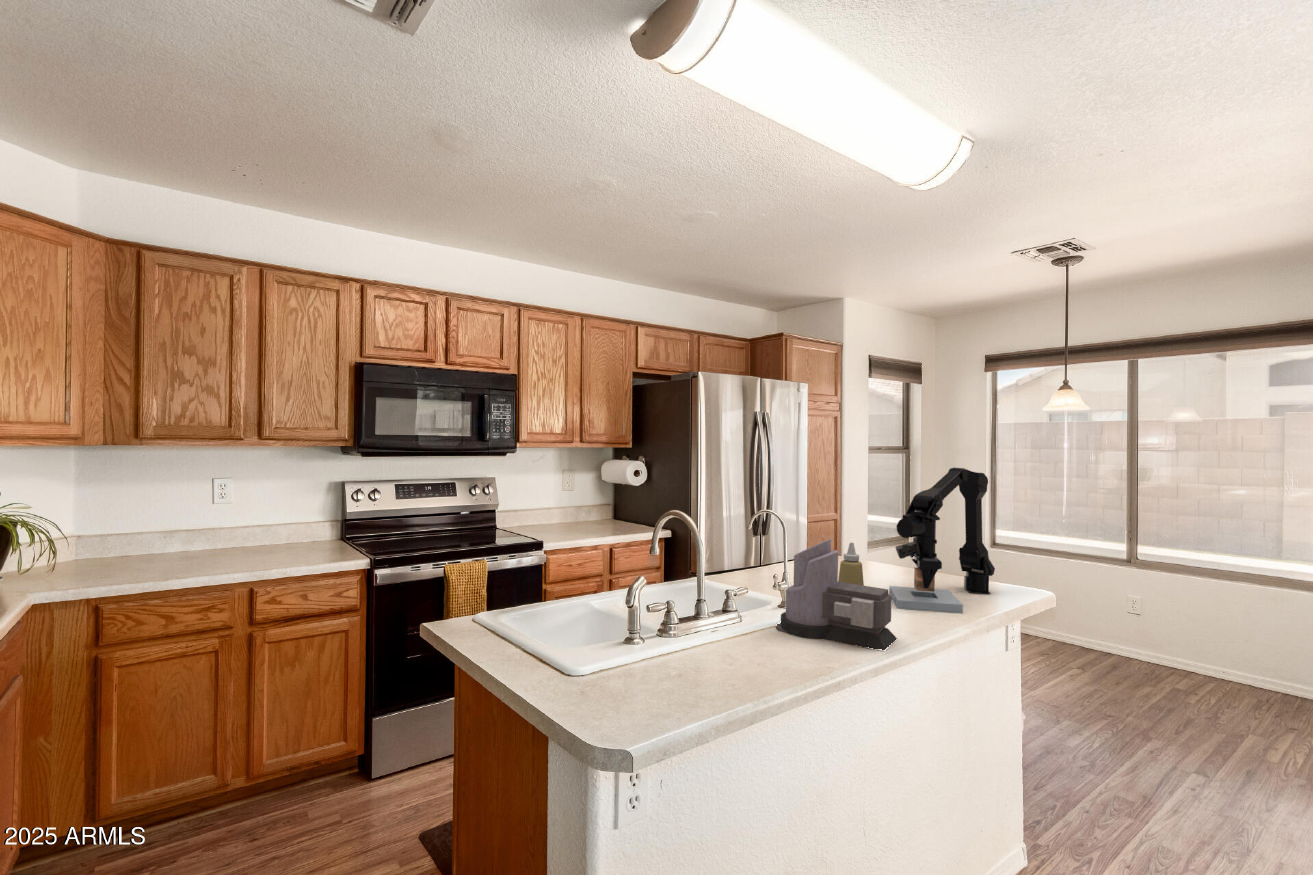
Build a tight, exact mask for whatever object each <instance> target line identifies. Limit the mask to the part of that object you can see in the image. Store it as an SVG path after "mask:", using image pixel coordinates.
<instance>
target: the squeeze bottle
mask: <svg viewBox="0 0 1313 875" xmlns="http://www.w3.org/2000/svg"><path fill="white" fill-rule="evenodd" d="M838 572H839V573H838V582H843V583H850V584H856V585H863V586H865V584H864V582H865V581H864V571H863V563H862V562H861V561H860V554H858V553H856V548H855V543H854V542H849V544H848V548H847V552H846V553H843V560H841V561H840V563H839V570H838Z"/></svg>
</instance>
